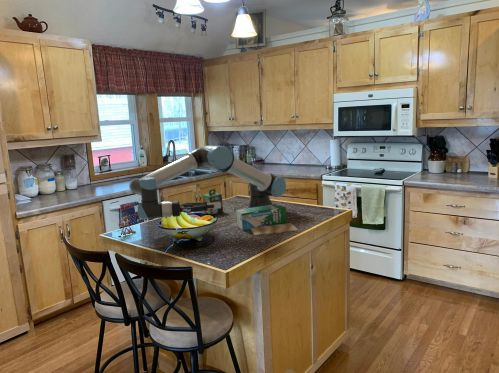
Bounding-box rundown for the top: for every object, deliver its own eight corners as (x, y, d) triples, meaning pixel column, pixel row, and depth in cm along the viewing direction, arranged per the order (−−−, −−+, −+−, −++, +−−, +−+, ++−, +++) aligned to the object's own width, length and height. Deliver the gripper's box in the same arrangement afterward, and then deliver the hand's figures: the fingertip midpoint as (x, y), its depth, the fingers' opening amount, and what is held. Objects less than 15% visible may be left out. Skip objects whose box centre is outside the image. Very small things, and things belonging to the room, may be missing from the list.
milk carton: (237, 226, 209) (280, 219, 217) (242, 230, 201) (286, 223, 209) (236, 209, 208) (279, 203, 215) (241, 213, 199) (286, 206, 207)
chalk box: (215, 209, 248) (213, 187, 245) (223, 212, 241) (222, 188, 238) (203, 212, 243) (201, 189, 240) (211, 215, 236) (209, 191, 233)
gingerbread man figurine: (122, 237, 203) (119, 215, 201) (117, 236, 205) (114, 214, 203) (136, 232, 210) (133, 211, 208) (131, 231, 212) (129, 210, 210)
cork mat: (254, 235, 191) (254, 234, 191) (250, 228, 203) (250, 227, 203) (297, 230, 195) (297, 229, 195) (291, 224, 206) (291, 223, 206)
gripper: (172, 213, 194) (219, 209, 198) (172, 220, 181) (222, 215, 186) (171, 198, 193) (218, 195, 197) (170, 204, 180) (221, 200, 184)
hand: (220, 205), depth 191 cm, fingers closed
